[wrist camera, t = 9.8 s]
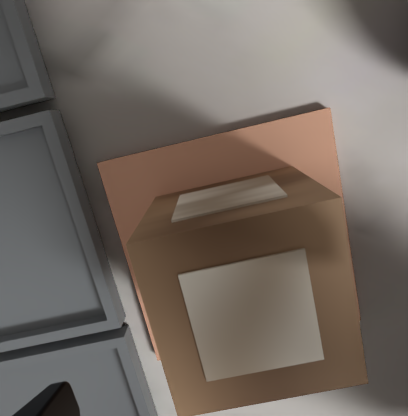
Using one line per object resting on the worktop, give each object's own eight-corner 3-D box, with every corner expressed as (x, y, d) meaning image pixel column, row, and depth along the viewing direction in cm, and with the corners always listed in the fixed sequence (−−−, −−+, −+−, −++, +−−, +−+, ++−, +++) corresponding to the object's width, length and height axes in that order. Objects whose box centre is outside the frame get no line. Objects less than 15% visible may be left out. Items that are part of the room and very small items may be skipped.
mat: (327, 107, 15) (330, 107, 15) (357, 315, 18) (361, 320, 17) (99, 162, 16) (96, 163, 16) (158, 355, 18) (157, 360, 18)
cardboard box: (291, 164, 16) (342, 194, 10) (313, 291, 17) (369, 385, 11) (155, 194, 16) (124, 242, 10) (188, 316, 17) (178, 420, 12)
